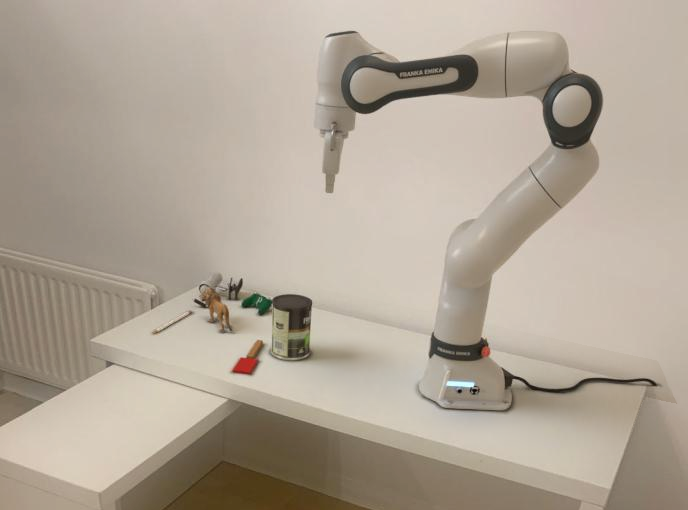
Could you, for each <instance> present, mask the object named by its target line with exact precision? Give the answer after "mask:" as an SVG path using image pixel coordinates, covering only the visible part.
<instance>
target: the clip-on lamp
mask: <svg viewBox="0 0 688 510" xmlns="http://www.w3.org/2000/svg"><path fill="white" fill-rule="evenodd" d="M222 281H223V275H222V274H221V273H220V272H218V271H214V272H212V274H211V275H209V277H208V278H207V279H204V280H202V281H200V283H199V285H198V292H199V293H200V295H201V294H202V293H203V292H204V291H205V288H207V287H210V288H212V289H213V290H215V291H216V290H217V288H219V290H218V292H217V294H218V295H219V296H220V293H221V292H223V293H225V292H227V291H228V300H231V298H232V293H233V292H234V299H235V300H238V296H239V293H240V291H241V290H242V288H243V283H244V282H243V281H244V280H243V278H240V279H239V280H237V281H236V280H234V278H233V277H230V282H229V283H227V285H223V284H221V282H222ZM191 300H192V301H193V302H194V303H195V304H197V305H198V306H200V307H203V308H208V306H207V305H206V304H205V302H202V301H201V300H199V299H197V298H191Z"/></svg>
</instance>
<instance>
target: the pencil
mask: <svg viewBox="0 0 688 510" xmlns="http://www.w3.org/2000/svg"><path fill="white" fill-rule="evenodd" d="M190 314H192V310H188V311H186V312H185V313H183V314H181V315H179V316H178V317H175V318H174V319H172V320H171V321H168V322H166V323H165V324H163V325H162V326H160V327H158V328H155V330H154V331H153V334H156V333H158V332H161V331H162V330H164V329H165V328H166V329H167V327H170V326H171V325H172V324H174V323H176V322H178V321H179V320H181V319H183V318H185V317H186V316H188V315H190Z"/></svg>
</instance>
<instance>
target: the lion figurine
mask: <svg viewBox="0 0 688 510" xmlns="http://www.w3.org/2000/svg"><path fill="white" fill-rule="evenodd" d="M198 297H199V299H200V301H201V302H203V303H205V304H206V306H208V307H207V309H208V310H209V316H210V319H208V322H209V323H214V322H215V317H214V313H215V314H216V320H217V321H218V323H219V324H220V327H221V328H220V330H219V332H221V333H223V332H225V329H226V328H227V329H228V330H229V332H234V329H233V328H231V325H230V310H229V308H228V305H227V304H225V303H223V302H222V299H221V297H220V294H219V295H218V292H217V291H216V290H213V289H212V288H210V287H207V288H205V291H204V292H203V293H202V294H201V293H200V295H198ZM223 317H224V321H225V324H224V322H223ZM225 326H226V328H225Z"/></svg>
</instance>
